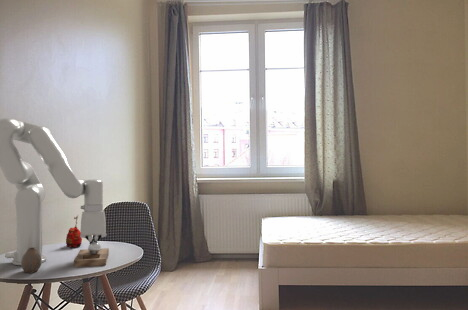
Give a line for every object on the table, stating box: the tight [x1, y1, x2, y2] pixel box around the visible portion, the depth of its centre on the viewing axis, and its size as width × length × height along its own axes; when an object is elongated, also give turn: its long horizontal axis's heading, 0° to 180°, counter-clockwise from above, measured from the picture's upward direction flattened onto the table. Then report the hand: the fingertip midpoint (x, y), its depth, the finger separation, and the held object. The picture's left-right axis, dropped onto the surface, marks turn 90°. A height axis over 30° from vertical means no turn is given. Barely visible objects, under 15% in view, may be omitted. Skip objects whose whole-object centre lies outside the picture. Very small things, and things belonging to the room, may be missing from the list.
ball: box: [87, 241, 102, 254], centre depth 170 cm, size 5×5×5 cm
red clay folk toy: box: [65, 215, 83, 249], centre depth 193 cm, size 8×7×15 cm
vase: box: [20, 248, 42, 273], centre depth 154 cm, size 7×7×9 cm
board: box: [73, 247, 110, 268], centre depth 170 cm, size 12×18×2 cm, turn 14°
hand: (93, 250), depth 174 cm, fingers closed
